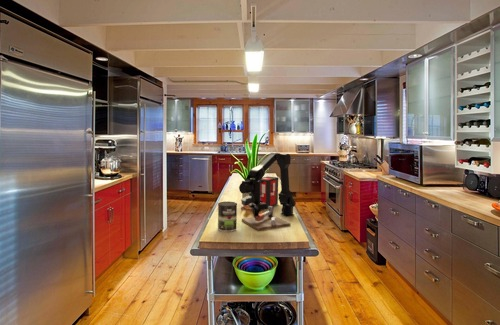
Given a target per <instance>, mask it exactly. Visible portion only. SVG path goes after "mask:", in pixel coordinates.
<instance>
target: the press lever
mask: <svg viewBox="0 0 500 325" xmlns="http://www.w3.org/2000/svg"><path fill="white" fill-rule="evenodd" d="M273 215H274V207H273V206H268V209H267V210H266V211H264V212H262V213H259V214H258V215H256V216H255V221H261V220H263V219H264V217H266V216H268V217H273Z"/></svg>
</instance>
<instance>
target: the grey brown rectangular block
mask: <svg viewBox="0 0 500 325" xmlns="http://www.w3.org/2000/svg"><path fill="white" fill-rule="evenodd" d="M271 225H274V226H275V217H272V219H271Z"/></svg>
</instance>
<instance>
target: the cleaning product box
mask: <svg viewBox="0 0 500 325" xmlns="http://www.w3.org/2000/svg"><path fill="white" fill-rule="evenodd" d="M261 180H262V181H263V183H261V193H262V195H261V200H262V202H261V203H263V202H264V203H266V204H267V205H268V206H273V208H274V207H276V206H278V205H279V199H278V198H279V196H278V194H279V177H278V176H277V177H276V176H263V177H262V179H261Z"/></svg>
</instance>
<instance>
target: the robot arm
mask: <svg viewBox="0 0 500 325" xmlns="http://www.w3.org/2000/svg"><path fill="white" fill-rule="evenodd" d="M291 160H292V158H291V155H290V154H289V153H280V152H275V151H273V152H272V151H271V152H270V153H269V155H268V156H267V157H266V158H265V159H264V160H263V161H262V162H261V163H260V164H259V165H257V166H254V167H252V168H251V169H250V170H249V172H248V174H247V177H246V178H245V180H242V181H241V182H240V184H239V186H238V190H239V192H240V193H241V194H247V193H248V195H246V196H244V197H242V198H240V201H241V205H243V206H248V207H249V208H250V209H251V211H252V216H253V217H254V218H255V216H256V215H258V214H260V212H261V210H268V205H267V204H266V203H264V202H263V203H260V202H262V200H261V195H262V193H261V183H263V181H262V180H261V179H262V178H263V177H265V174H266V171H267V170H268V169H270V167H271V166H272V165H273V164H274V163H275V162H276V164H277V166H278V167H279V173H280V187H281V188H280V189H281V190H280V192H278V202H279V204H280V206H282V207H281V213H280V215H282V216H284V217H291V216H292V217H293V216H295V214H294V207H296V204H297V203H296V201H295V200H294V198H293V193H292V191H291V190H290V177H289V174H290V173H289V166H290V165H291Z"/></svg>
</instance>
